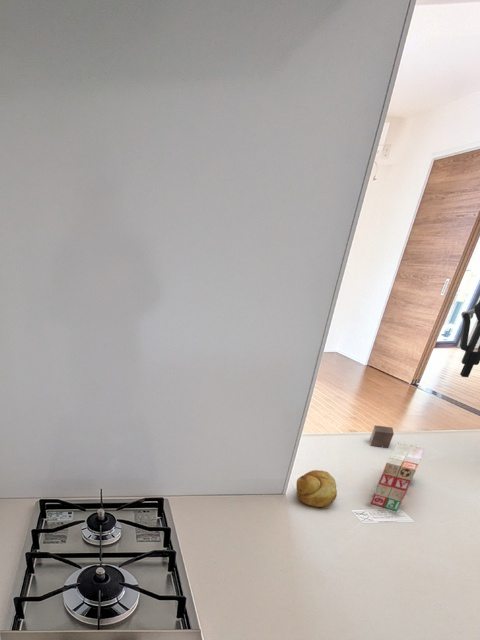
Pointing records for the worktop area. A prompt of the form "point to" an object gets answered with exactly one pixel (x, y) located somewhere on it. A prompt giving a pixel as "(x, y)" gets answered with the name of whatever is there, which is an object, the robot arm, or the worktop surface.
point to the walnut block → (381, 436)
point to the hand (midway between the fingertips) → (464, 375)
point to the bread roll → (316, 488)
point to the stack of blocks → (397, 476)
